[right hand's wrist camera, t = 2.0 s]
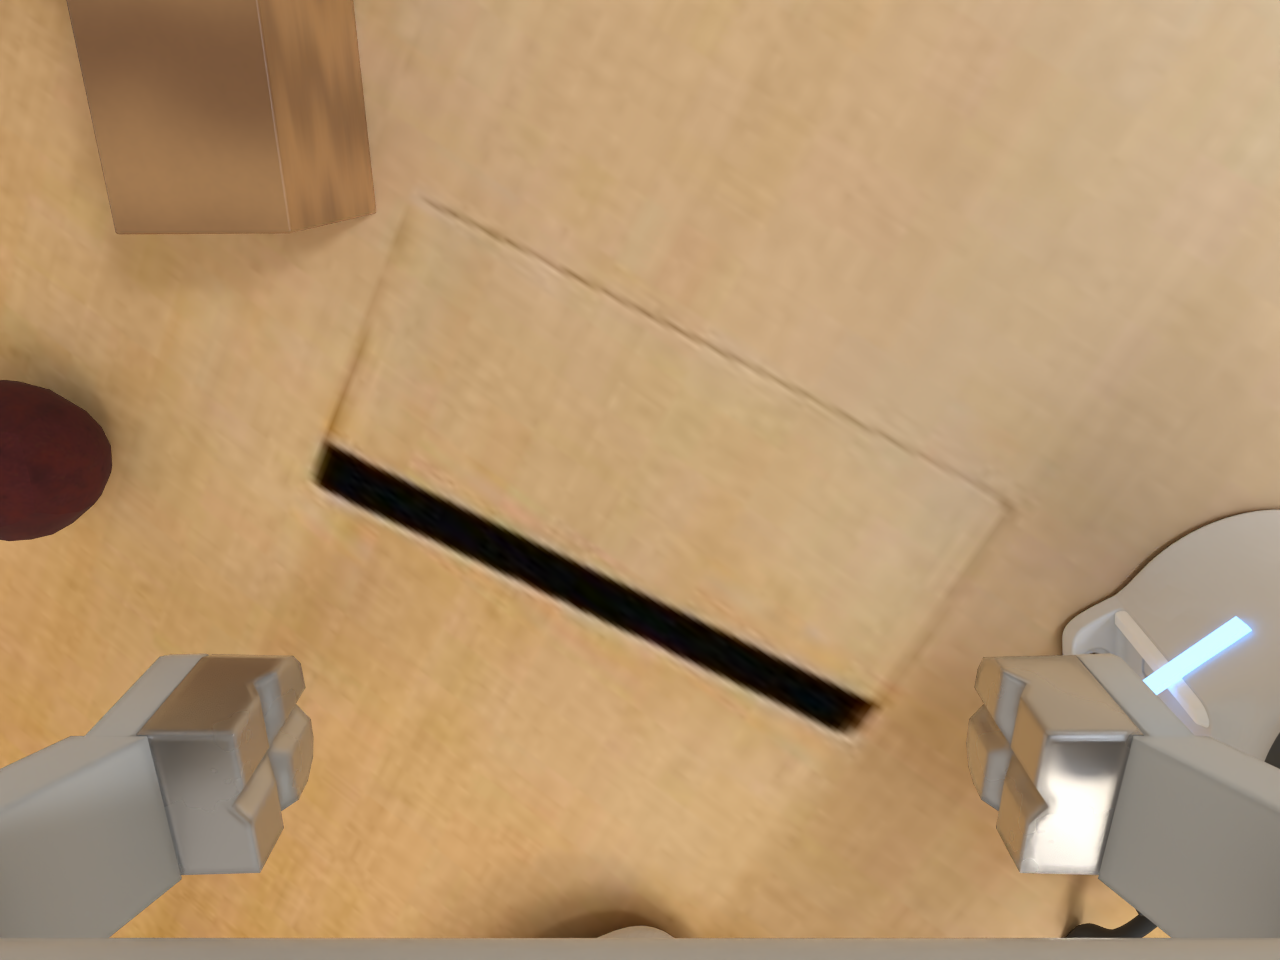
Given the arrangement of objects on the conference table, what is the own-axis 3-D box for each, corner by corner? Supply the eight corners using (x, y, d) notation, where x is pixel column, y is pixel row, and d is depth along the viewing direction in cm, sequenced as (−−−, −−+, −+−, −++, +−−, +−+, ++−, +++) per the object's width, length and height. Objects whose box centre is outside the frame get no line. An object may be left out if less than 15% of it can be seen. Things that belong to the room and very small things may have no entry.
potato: (-38, 366, 42) (-168, 407, 35) (122, 362, 42) (22, 402, 35) (6, 508, 44) (-107, 571, 38) (157, 505, 44) (70, 567, 38)
